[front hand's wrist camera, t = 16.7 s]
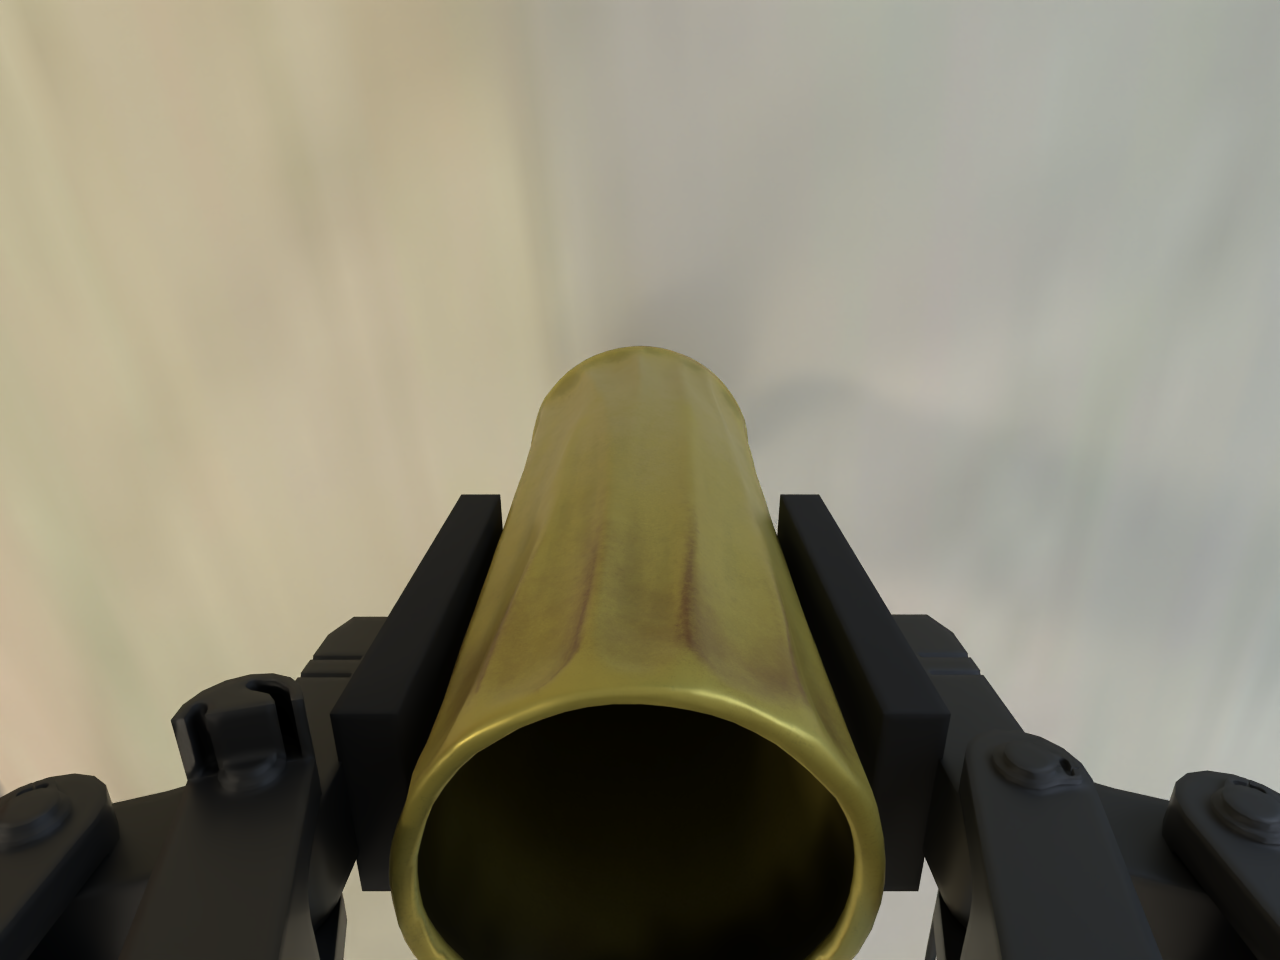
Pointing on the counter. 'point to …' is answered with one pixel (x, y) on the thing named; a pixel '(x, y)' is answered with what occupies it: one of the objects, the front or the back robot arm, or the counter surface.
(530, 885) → the olive drinking cup
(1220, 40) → the counter surface
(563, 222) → the counter surface
